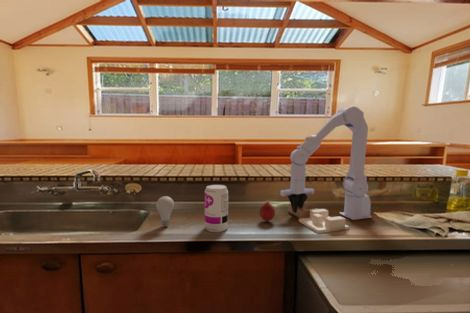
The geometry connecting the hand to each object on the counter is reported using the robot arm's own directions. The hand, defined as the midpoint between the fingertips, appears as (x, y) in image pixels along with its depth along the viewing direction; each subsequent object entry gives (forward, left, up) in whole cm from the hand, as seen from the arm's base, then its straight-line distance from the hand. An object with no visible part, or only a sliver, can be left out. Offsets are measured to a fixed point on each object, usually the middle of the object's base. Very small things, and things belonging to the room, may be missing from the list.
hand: (296, 211), depth 105 cm
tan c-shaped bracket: (-3, 0, -1) cm, 3 cm away
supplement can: (+35, +5, -2) cm, 35 cm away
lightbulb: (+52, -2, -2) cm, 52 cm away
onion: (+15, +4, -2) cm, 15 cm away
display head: (-4, +13, -1) cm, 13 cm away
